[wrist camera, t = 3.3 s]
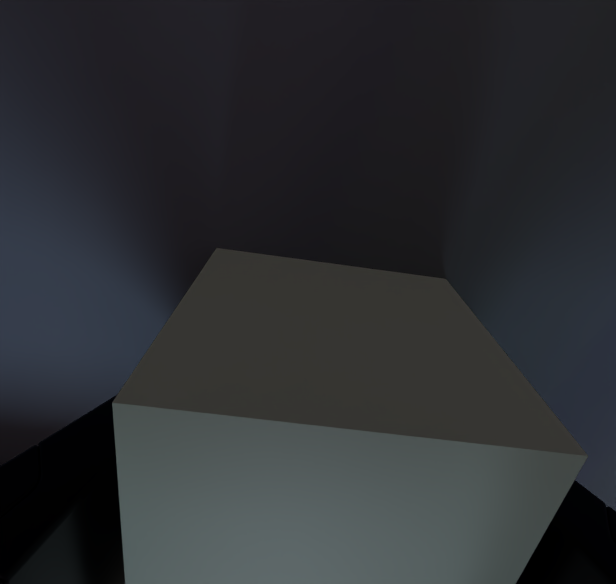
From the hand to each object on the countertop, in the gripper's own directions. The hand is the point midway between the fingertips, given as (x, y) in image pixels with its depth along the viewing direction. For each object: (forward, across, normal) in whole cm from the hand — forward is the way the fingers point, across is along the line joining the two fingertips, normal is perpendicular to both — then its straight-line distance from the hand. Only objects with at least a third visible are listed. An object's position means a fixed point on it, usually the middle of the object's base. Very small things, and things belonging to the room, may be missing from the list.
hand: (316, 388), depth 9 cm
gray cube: (+1, 0, 0) cm, 1 cm away
